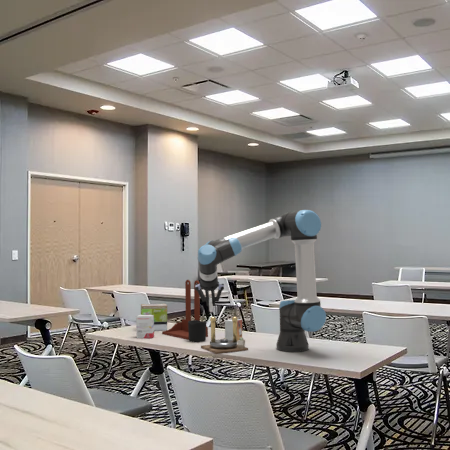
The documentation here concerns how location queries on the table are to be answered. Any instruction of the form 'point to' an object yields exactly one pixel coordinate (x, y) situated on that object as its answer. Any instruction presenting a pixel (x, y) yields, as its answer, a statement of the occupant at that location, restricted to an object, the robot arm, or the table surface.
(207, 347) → the stand
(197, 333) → the pen holder
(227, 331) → the small box
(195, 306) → the dustpan and brush
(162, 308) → the tea box
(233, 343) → the brass post metal stand
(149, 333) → the ink box
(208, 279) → the robot arm
